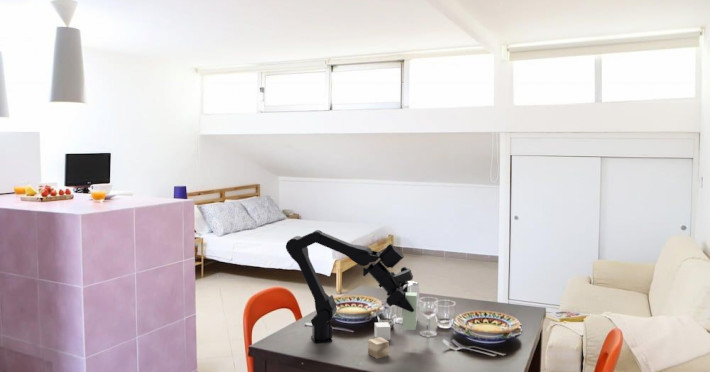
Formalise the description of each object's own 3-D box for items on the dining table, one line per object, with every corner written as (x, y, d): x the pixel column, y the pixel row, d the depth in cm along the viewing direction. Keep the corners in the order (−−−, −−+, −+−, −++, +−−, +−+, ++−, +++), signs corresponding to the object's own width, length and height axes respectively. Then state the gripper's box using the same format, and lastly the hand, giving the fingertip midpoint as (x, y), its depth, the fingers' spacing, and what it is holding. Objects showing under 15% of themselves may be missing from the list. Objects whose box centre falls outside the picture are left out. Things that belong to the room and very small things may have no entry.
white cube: (376, 340, 201) (376, 327, 201) (374, 335, 206) (374, 322, 206) (390, 340, 202) (390, 326, 202) (387, 335, 207) (387, 322, 206)
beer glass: (417, 323, 221) (418, 286, 219) (400, 322, 222) (401, 285, 221) (419, 317, 227) (420, 282, 226) (402, 316, 229) (403, 280, 228)
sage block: (402, 329, 193) (403, 295, 192) (403, 324, 197) (404, 291, 196) (415, 330, 192) (416, 296, 191) (416, 325, 197) (417, 292, 196)
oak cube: (376, 358, 184) (376, 344, 184) (368, 353, 188) (368, 339, 188) (388, 355, 187) (388, 341, 187) (379, 351, 191) (380, 337, 191)
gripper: (396, 267, 185) (429, 302, 183) (402, 256, 203) (431, 287, 202) (373, 289, 187) (405, 323, 185) (380, 275, 205) (409, 307, 204)
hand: (413, 309), depth 194 cm, fingers closed on sage block, 4 cm apart
